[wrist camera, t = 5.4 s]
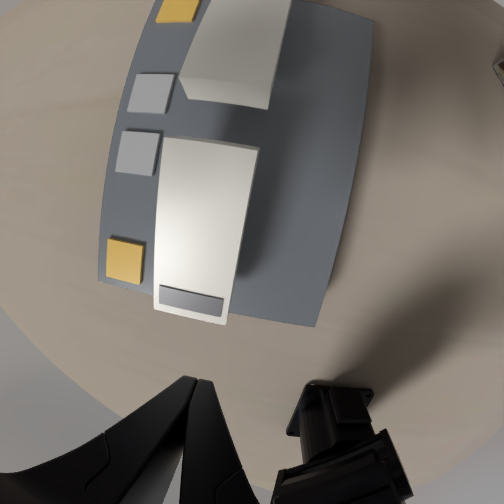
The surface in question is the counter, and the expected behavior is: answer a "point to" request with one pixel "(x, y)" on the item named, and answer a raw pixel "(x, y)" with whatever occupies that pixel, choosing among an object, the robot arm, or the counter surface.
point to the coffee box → (500, 69)
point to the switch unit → (253, 134)
